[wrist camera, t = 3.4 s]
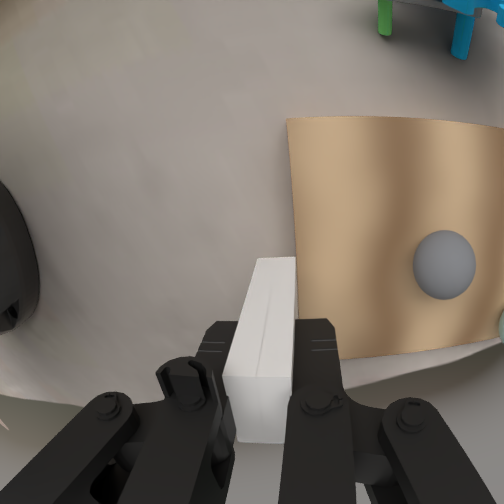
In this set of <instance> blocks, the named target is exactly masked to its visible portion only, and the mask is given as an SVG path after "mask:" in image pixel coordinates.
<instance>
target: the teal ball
mask: <svg viewBox="0 0 504 504" xmlns="http://www.w3.org/2000/svg"><path fill="white" fill-rule="evenodd" d="M499 335H500V338H501V341H502V342H503V344H504V311H503V313H502V315H501V317H500V321H499Z"/></svg>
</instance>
